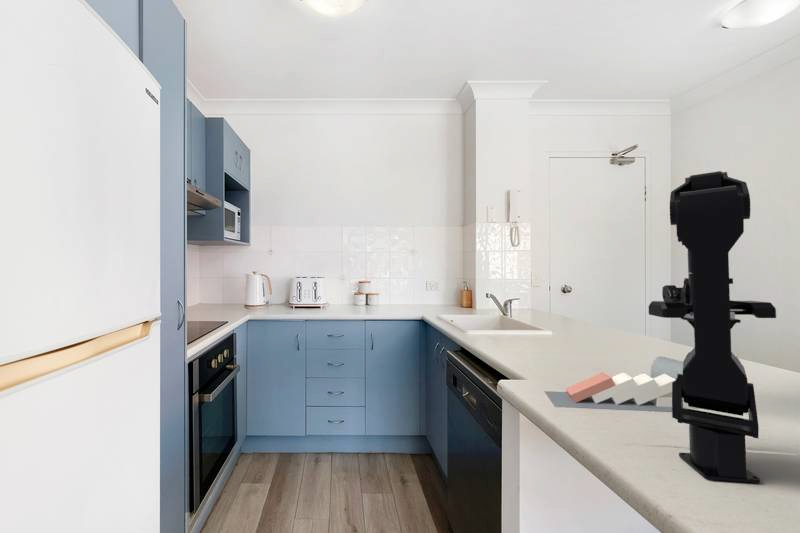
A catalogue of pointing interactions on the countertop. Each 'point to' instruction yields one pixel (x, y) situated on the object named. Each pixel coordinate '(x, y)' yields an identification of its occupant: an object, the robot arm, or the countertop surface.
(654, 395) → the domino
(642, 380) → the domino
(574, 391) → the domino
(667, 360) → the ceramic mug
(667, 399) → the domino
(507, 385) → the countertop surface
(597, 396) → the domino
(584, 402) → the slate mat
